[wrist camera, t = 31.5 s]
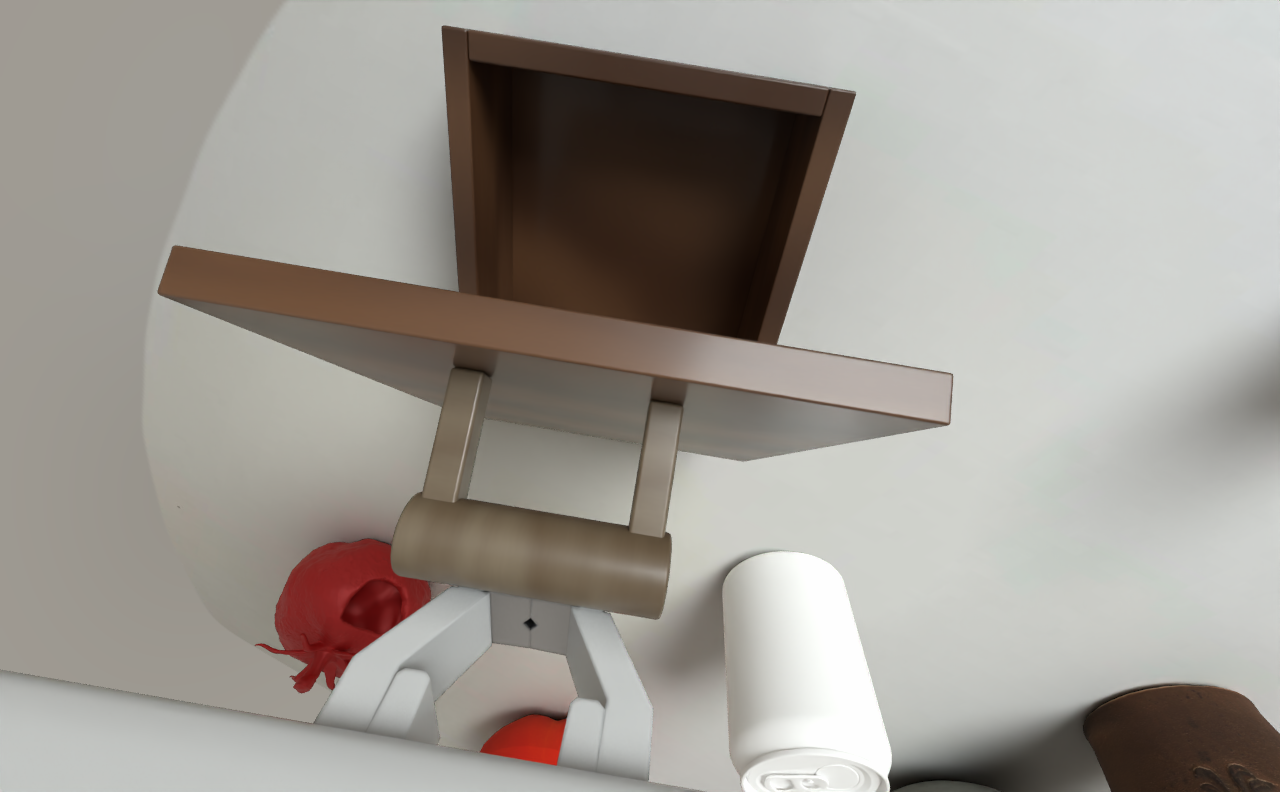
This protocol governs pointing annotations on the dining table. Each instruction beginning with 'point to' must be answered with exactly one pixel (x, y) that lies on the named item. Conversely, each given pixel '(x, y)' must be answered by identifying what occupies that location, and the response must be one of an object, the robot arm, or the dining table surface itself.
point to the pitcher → (1185, 742)
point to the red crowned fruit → (341, 606)
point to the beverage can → (799, 681)
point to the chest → (634, 182)
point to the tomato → (528, 740)
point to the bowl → (945, 787)
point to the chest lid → (557, 411)
